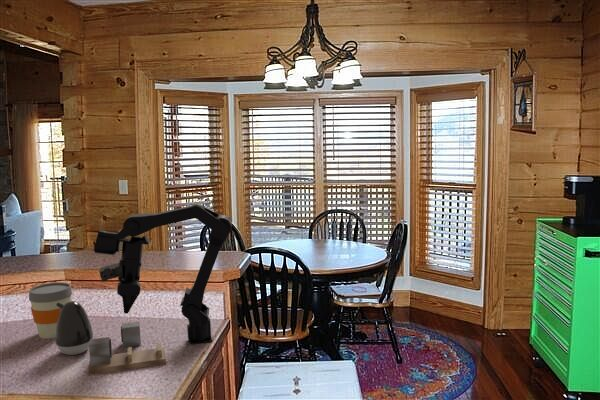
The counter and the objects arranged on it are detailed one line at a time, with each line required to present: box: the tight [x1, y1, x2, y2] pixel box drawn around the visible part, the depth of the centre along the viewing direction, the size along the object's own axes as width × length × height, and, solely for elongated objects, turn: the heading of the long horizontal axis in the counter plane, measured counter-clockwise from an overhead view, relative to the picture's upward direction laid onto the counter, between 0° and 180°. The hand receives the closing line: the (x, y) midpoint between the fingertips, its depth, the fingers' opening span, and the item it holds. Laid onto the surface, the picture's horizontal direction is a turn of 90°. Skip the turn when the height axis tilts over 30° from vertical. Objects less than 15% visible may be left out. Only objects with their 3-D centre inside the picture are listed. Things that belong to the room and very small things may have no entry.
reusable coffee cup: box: [28, 281, 73, 340], centre depth 172 cm, size 13×13×15 cm
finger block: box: [120, 321, 142, 348], centre depth 162 cm, size 5×4×6 cm
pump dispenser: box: [54, 300, 94, 356], centre depth 157 cm, size 10×10×15 cm
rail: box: [87, 336, 167, 376], centre depth 149 cm, size 20×8×8 cm, turn 107°
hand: (126, 307), depth 161 cm, fingers open, 9 cm apart
